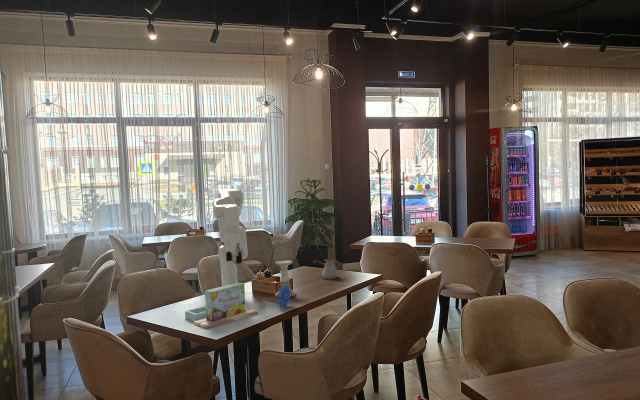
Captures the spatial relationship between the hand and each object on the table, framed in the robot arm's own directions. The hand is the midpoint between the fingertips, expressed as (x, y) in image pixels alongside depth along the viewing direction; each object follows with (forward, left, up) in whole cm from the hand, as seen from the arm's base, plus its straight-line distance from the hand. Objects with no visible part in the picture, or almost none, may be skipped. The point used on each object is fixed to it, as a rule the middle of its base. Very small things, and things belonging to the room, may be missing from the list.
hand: (234, 262), depth 241 cm
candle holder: (-9, +40, -27) cm, 49 cm away
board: (+4, -9, -27) cm, 29 cm away
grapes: (+10, +23, -27) cm, 37 cm away
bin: (-9, -9, -27) cm, 30 cm away
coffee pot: (-20, +84, -27) cm, 91 cm away
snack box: (+4, -9, -26) cm, 28 cm away
